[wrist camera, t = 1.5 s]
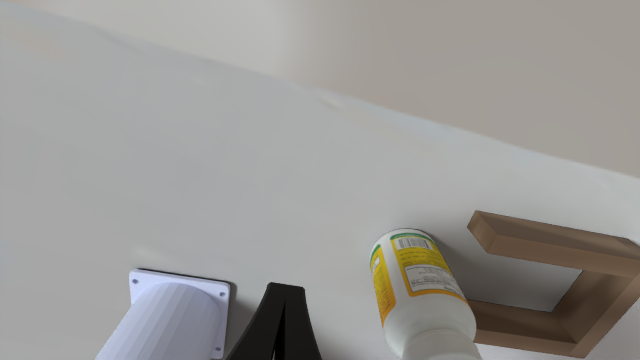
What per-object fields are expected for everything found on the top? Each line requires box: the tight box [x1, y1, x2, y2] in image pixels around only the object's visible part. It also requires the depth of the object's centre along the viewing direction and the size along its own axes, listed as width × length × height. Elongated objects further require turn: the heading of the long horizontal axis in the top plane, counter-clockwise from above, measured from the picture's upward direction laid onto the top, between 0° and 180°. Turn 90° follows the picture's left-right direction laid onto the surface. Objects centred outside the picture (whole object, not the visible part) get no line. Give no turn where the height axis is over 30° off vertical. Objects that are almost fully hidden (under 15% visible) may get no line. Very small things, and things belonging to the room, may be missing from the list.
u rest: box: [466, 211, 640, 359], centre depth 23 cm, size 10×12×3 cm
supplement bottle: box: [370, 229, 482, 360], centre depth 19 cm, size 5×5×10 cm
